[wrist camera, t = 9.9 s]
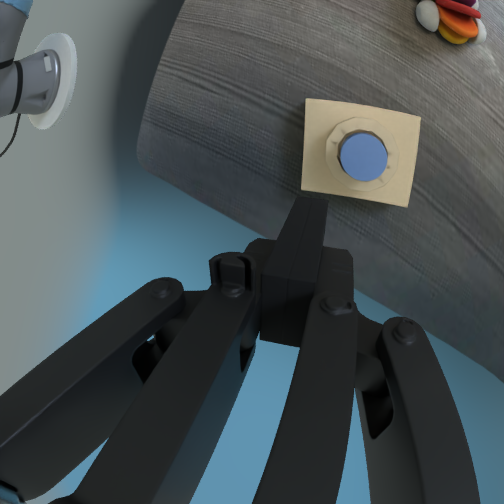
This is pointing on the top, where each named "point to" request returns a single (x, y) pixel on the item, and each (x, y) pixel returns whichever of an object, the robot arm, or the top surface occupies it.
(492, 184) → the top surface
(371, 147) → the blue button
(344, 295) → the robot arm
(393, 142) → the button housing
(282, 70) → the top surface
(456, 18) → the rainbow petal toy
